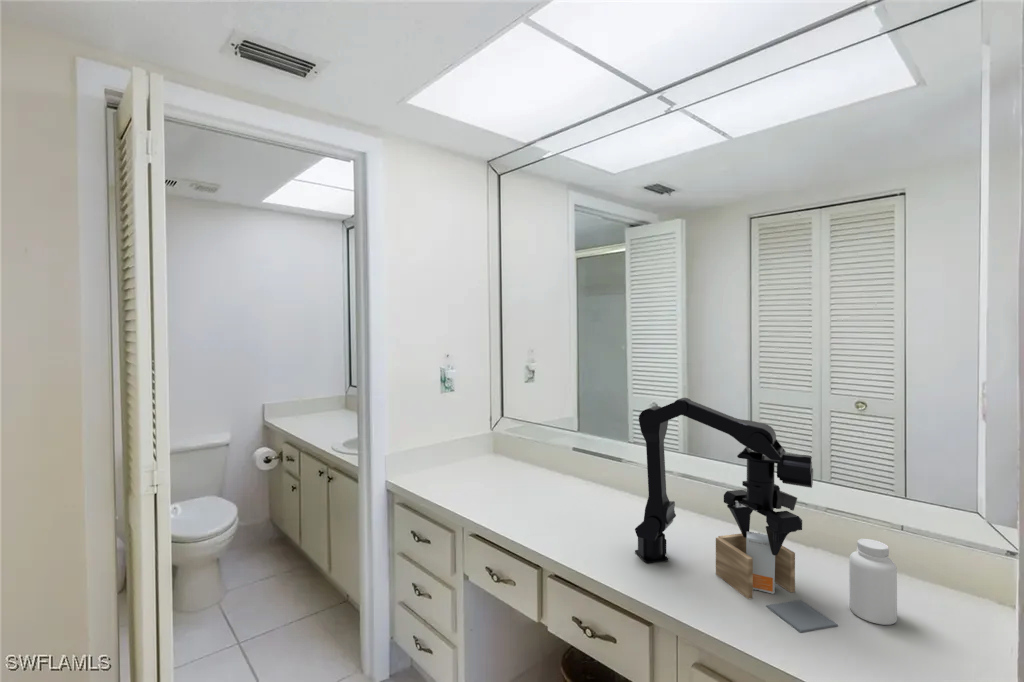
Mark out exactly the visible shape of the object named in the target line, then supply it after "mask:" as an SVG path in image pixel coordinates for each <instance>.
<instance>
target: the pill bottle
mask: <svg viewBox="0 0 1024 682" xmlns="http://www.w3.org/2000/svg"><path fill="white" fill-rule="evenodd" d="M856 542H857V543H856V546H857V547H856V551H853V552H851V554H850V555H849V557H848V559H849V562H848V563H849V566H848V567H849V571H848V572H849V573H848V574H849V586H848V587H849V608H850V610H851V612H852V613H853V614H854V615H855V616H856V617H858V618H860V619H862V620H864V621H866V622H870V623H874V624H877V625H884V626H890V625H893V624H895V623H896V622H897V620H898V570H897V566H896V564H895V562H894V561H893V559H891V558H890V556H889V555H890V547H889V546H888V545H887V544H886V543H884V542H882V541H879V540H876V539H872V538H871V539H870V538H860V539H858V540H857V541H856Z"/></svg>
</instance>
